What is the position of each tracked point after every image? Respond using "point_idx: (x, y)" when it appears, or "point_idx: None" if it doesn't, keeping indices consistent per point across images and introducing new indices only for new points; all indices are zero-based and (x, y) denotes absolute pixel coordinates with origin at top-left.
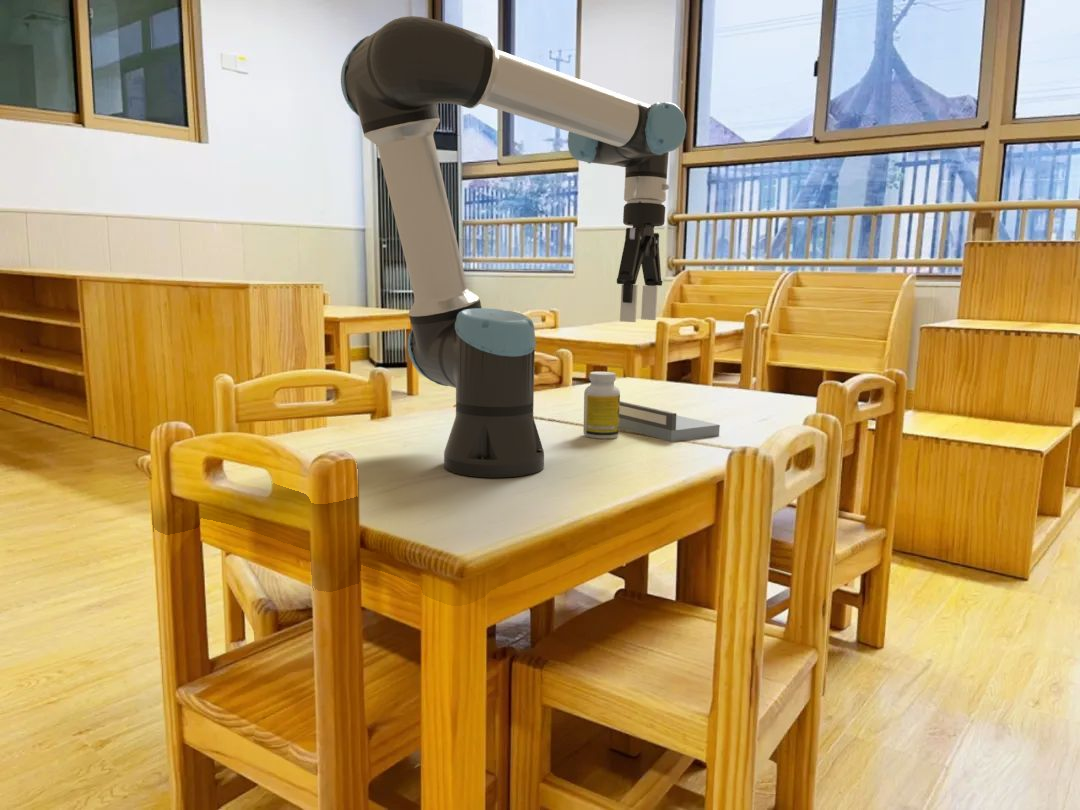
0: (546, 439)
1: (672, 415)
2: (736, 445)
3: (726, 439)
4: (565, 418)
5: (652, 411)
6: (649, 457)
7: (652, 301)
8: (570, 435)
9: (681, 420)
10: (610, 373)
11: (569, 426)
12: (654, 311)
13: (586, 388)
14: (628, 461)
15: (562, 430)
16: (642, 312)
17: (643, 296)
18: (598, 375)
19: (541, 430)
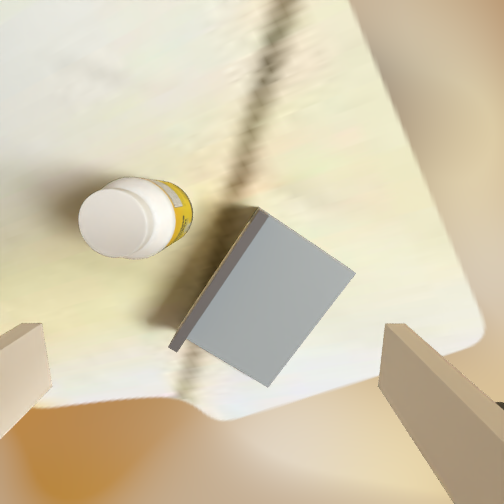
0: (86, 134)
1: (168, 346)
2: (204, 408)
3: (241, 390)
4: (304, 83)
5: (196, 304)
6: (58, 322)
7: (434, 451)
8: (142, 160)
9: (278, 326)
10: (116, 244)
11: (222, 126)
12: (398, 415)
13: (106, 186)
14: (17, 304)
15: (178, 129)
16: (403, 347)
17: (470, 419)
18: (79, 223)
19: (157, 90)
